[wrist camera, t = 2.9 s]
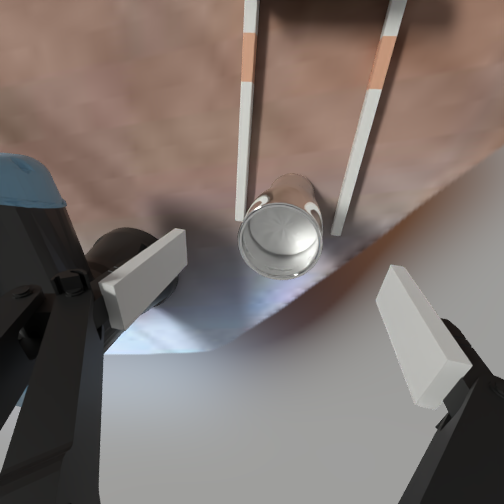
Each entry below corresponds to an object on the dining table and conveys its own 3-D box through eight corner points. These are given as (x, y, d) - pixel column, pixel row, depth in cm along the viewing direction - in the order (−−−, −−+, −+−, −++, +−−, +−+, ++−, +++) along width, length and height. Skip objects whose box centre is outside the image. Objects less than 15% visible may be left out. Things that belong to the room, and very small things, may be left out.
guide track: (339, 232, 32) (344, 249, 27) (237, 217, 34) (226, 230, 29) (414, -37, 20) (444, -84, 15) (249, -33, 22) (234, -74, 18)
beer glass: (272, 162, 29) (244, 187, 16) (326, 177, 29) (341, 215, 16) (259, 213, 33) (227, 267, 20) (307, 227, 32) (307, 293, 19)
